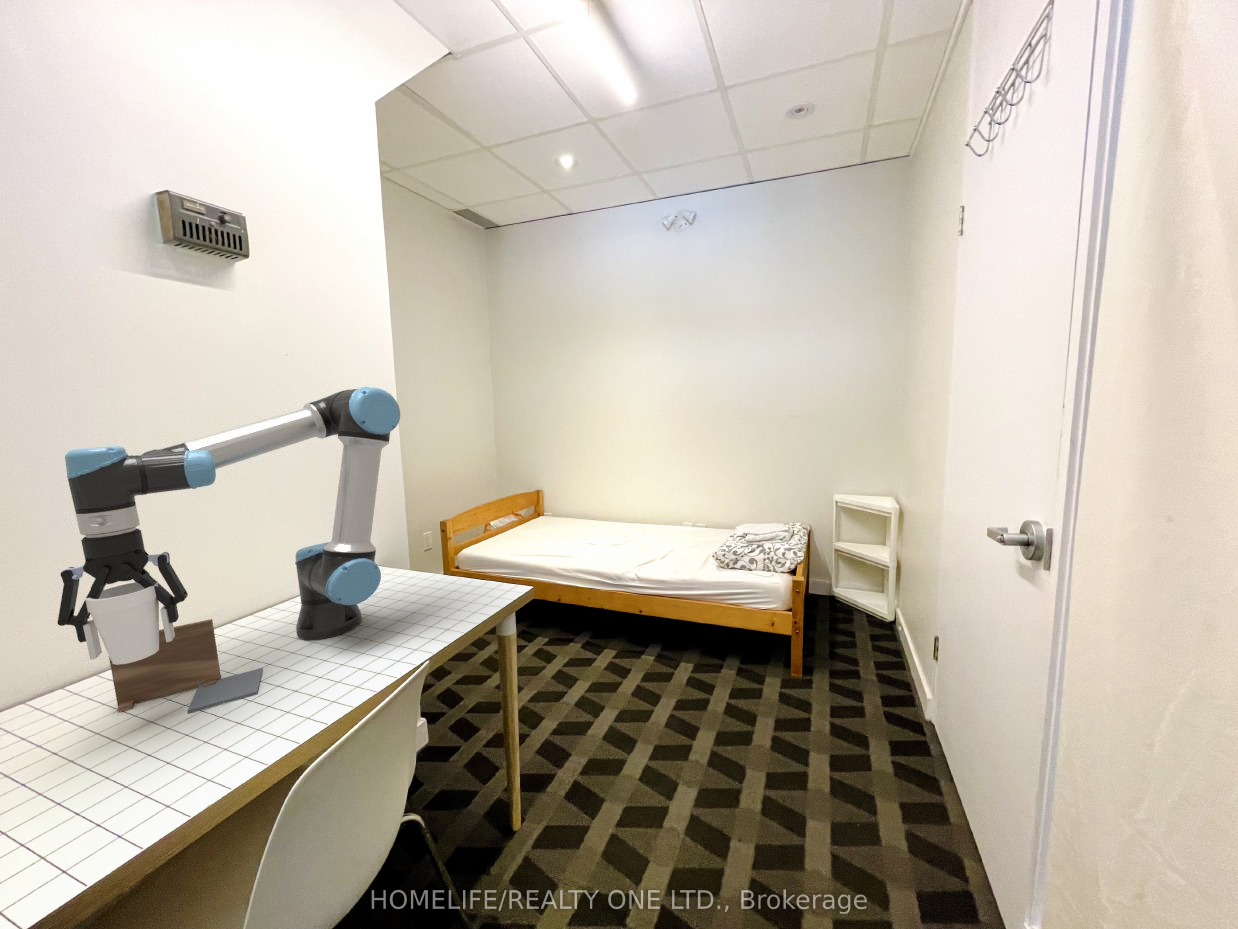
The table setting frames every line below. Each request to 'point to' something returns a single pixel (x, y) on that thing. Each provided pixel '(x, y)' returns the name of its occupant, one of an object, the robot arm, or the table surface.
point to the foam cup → (127, 621)
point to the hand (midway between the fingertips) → (134, 647)
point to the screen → (169, 666)
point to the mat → (226, 690)
